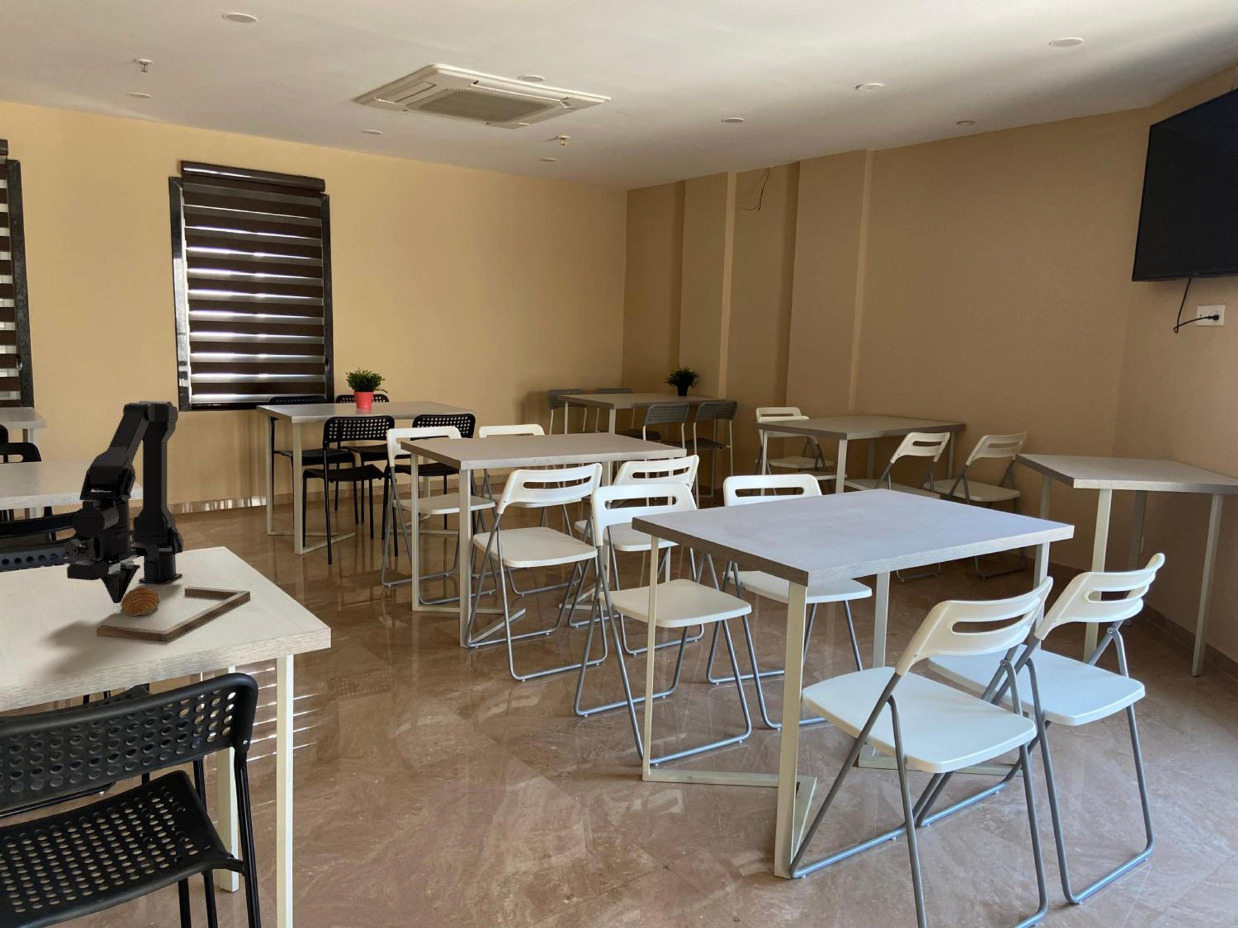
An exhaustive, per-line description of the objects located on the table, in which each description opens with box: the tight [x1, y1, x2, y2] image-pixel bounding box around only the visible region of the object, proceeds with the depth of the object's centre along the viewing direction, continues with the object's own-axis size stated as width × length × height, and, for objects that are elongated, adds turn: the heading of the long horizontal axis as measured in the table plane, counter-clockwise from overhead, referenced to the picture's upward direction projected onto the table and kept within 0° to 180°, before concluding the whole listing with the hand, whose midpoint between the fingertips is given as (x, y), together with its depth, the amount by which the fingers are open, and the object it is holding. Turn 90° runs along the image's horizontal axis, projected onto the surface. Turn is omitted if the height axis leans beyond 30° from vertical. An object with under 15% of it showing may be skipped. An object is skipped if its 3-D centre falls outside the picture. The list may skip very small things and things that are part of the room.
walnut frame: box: [96, 585, 251, 643], centre depth 176 cm, size 27×14×2 cm, turn 171°
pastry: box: [120, 586, 160, 617], centre depth 178 cm, size 9×7×4 cm
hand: (117, 602), depth 177 cm, fingers closed
